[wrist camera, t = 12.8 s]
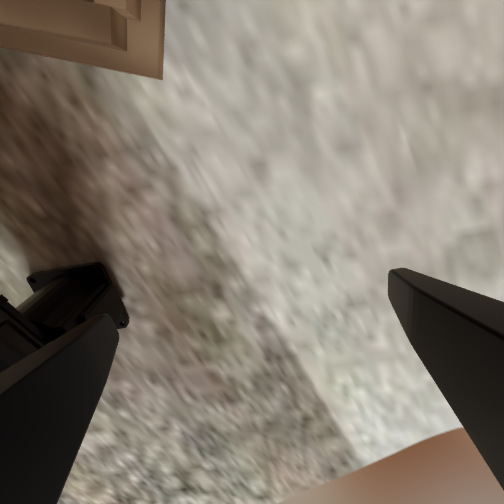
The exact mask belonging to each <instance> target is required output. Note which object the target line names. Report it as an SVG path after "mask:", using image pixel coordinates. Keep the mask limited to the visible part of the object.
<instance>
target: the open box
mask: <svg viewBox="0 0 504 504" xmlns="http://www.w3.org/2000/svg"><path fill="white" fill-rule="evenodd" d="M165 3H166V0H0V47H3V48H7V49H12V50H17V51H22V52H27V53H32V54H37V55H42V56H47V57H52V58H56V59H61V60H66V61H71V62H76V63H81V64H86V65H91V66H96V67H100V68H105V69H110V70H115V71H120V72H125V73H130V74H135V75H140V76H145V77H149V78H154V79H159V80H163V55H164V29H165Z"/></svg>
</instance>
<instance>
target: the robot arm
mask: <svg viewBox="0 0 504 504" xmlns="http://www.w3.org/2000/svg"><path fill="white" fill-rule="evenodd" d="M95 267H97V268H98V269H99V270H97V269H96V268H95ZM33 278H34V279H35V280H34V279H33ZM27 282H28V283H29V285H30V287H31V288H32V290H33V292H34V294H33V295H31V296H30V297H29V298H28V299H26V300H25V301H24V302H23V303H21V304H20V305H19V306H18V307H16V308H14V307H13V306H12V305H11V304H10V303H9V302H7V301H8V299H7V298H5V297H4V296H3V295H2V294H1V295H0V504H57V502H58V500H59V498H60V495H61V493H62V490H63V488H64V485H65V483H66V480H67V478H68V475H69V473H70V471H71V468H72V466H73V463H74V461H75V458H76V456H77V453H78V451H79V449H80V446H81V444H82V441H83V439H84V436H85V434H86V431H87V429H88V426H89V424H90V422H91V419H92V417H93V414H94V412H95V409H96V407H97V404H98V402H99V399H100V397H101V395H102V392H103V390H104V387H105V384H106V381H107V378H108V375H109V372H110V369H111V365H112V362H113V358H114V355H115V352H116V348H117V345H118V342H119V333H118V331H117V329H120V328H125V327H127V325H128V324H129V319H128V317H127V315H126V312H125V310H124V307H123V305H122V302H121V300H120V298H119V296H118V294H117V292H116V290H115V287H114V286H113V285H112V283H111V280H110V278H109V276H108V274H107V272H106V270H105V268H104V266H103V265H102V264H101V263H99V262H94V263H88V264H82V265H77V266H71V267H65V268H59V269H54V270H48V271H42V272H36V273H32V274H30V275H29V276H28V277H27ZM388 297H389V300H390V302H391V304H392V306H393V308H394V310H395V313H396V315H397V317H398V319H399V321H400V323H401V325H402V327H403V329H404V331H405V333H406V335H407V337H408V339H409V341H410V343H411V345H412V346H413V348H414V350H415V351H416V353H417V355H418V356H419V358H420V359H421V361H422V362H423V364H424V366H425V367H426V369H427V370H428V372H429V373H430V375H431V377H432V378H433V380H434V381H435V383H436V384H437V386H438V388H439V389H440V391H441V392H442V394H443V396H444V397H445V399H446V400H447V402H448V403H449V405H450V407H451V408H452V410H453V411H454V413H455V414H456V416H457V418H458V419H459V421H460V422H461V424H462V425H463V427H464V429H465V430H466V432H467V433H468V435H469V436H470V438H471V440H472V441H473V443H474V444H475V446H476V448H477V449H478V451H479V452H480V454H481V455H482V457H483V459H484V460H485V462H486V463H487V465H488V466H489V468H490V469H491V471H492V473H493V474H494V476H495V477H496V479H497V481H498V482H499V484H500V485H501V487H502V488H503V490H504V302H502V301H499V300H496V299H493V298H490V297H487V296H485V295H482V294H479V293H476V292H473V291H470V290H467V289H464V288H461V287H458V286H456V285H453V284H450V283H447V282H444V281H441V280H438V279H435V278H432V277H430V276H427V275H424V274H421V273H418V272H415V271H412V270H409V269H406V268H397V269H391V270H390V271H389V273H388ZM121 321H123V322H124V323H123V322H121Z"/></svg>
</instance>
